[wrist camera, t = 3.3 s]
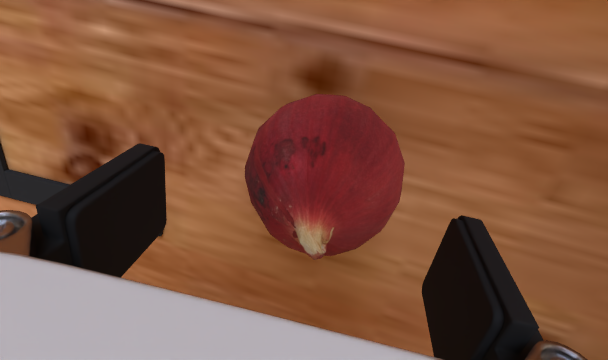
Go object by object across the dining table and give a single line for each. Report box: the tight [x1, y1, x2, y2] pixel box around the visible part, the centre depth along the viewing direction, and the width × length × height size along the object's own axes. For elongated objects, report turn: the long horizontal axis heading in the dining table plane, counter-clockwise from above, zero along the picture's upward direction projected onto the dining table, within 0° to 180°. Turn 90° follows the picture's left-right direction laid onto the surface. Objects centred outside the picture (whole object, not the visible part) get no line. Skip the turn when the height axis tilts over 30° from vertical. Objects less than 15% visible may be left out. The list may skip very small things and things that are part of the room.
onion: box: [245, 94, 404, 260], centre depth 13 cm, size 6×6×8 cm
